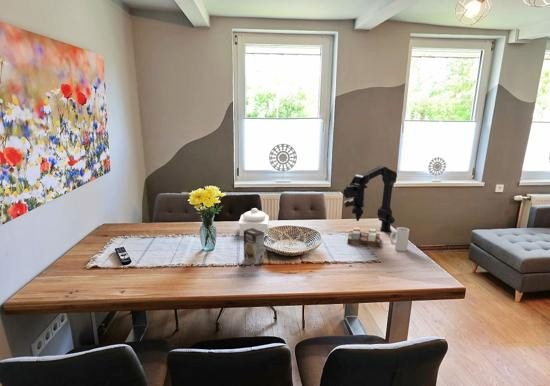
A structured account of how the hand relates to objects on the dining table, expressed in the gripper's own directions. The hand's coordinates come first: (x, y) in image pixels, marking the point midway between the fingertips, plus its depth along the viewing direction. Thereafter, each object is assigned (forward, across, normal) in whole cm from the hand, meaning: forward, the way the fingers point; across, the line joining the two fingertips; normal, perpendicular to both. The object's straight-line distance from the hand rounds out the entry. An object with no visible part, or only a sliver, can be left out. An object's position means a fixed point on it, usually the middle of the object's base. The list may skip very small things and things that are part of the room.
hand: (357, 220), depth 199 cm
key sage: (+9, 0, +9) cm, 13 cm away
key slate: (+9, +7, 0) cm, 11 cm away
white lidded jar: (+12, +8, -64) cm, 65 cm away
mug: (+12, +10, +23) cm, 28 cm away
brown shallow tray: (+11, +4, +4) cm, 13 cm away
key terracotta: (+9, 0, 0) cm, 9 cm away
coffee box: (+11, +46, -50) cm, 69 cm away
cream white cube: (+9, +7, +9) cm, 14 cm away
